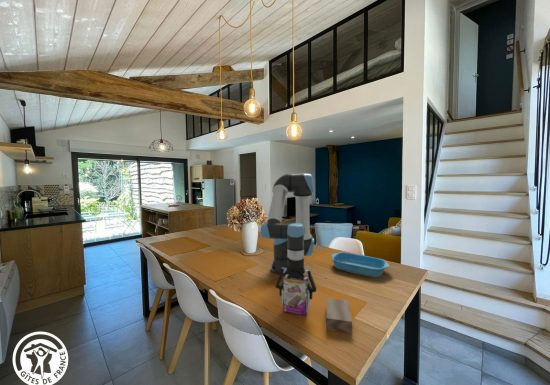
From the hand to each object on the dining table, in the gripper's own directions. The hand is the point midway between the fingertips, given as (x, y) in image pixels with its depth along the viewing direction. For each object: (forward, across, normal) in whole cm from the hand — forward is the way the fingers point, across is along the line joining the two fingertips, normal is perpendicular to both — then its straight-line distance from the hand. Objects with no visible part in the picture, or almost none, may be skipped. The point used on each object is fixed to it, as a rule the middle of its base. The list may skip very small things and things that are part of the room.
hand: (295, 303), depth 108 cm
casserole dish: (+4, +34, +58) cm, 67 cm away
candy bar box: (+4, 0, 0) cm, 4 cm away
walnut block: (+4, +19, -2) cm, 19 cm away
